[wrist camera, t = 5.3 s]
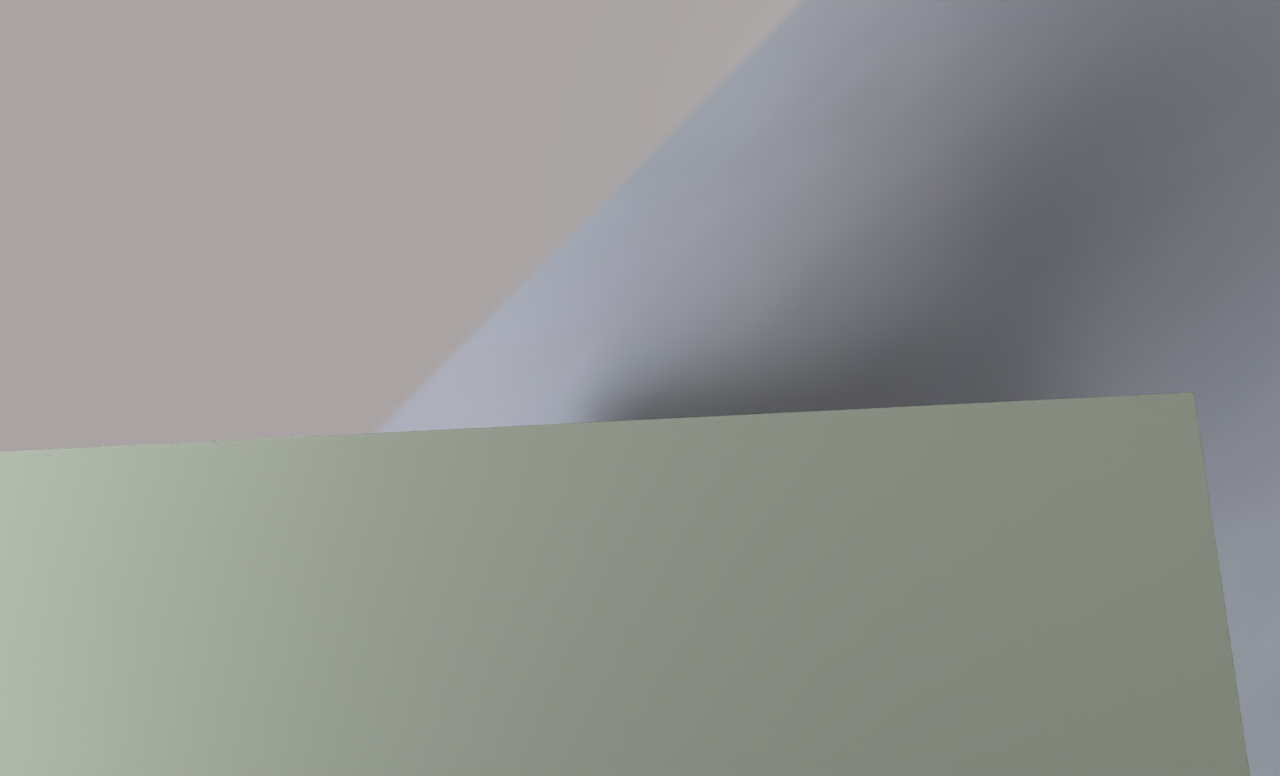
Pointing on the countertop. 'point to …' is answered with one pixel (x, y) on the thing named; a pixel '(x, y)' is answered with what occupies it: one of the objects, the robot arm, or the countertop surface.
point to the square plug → (628, 599)
